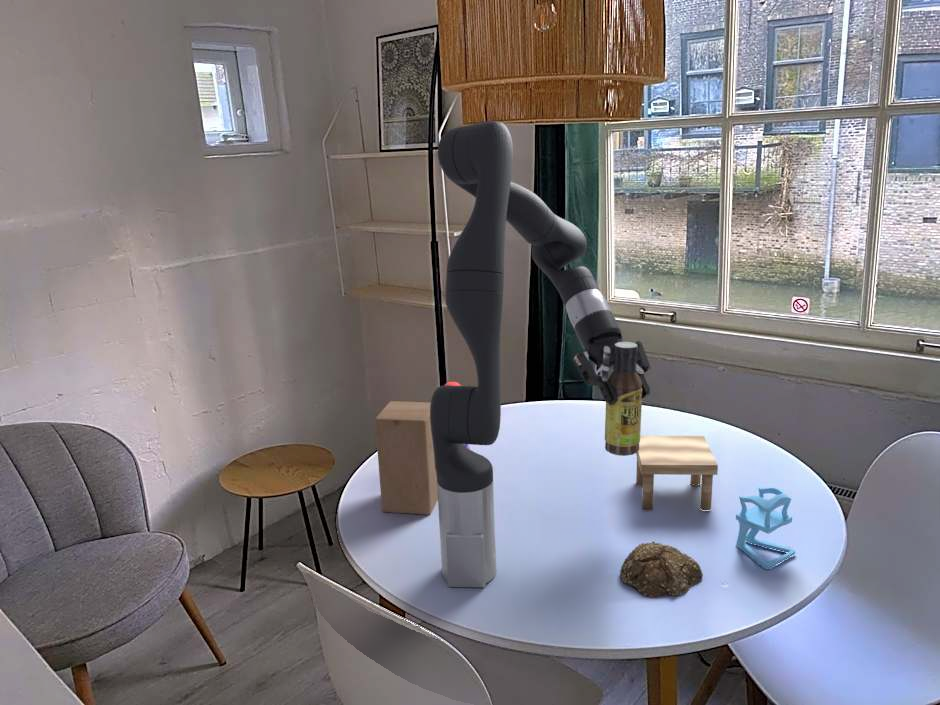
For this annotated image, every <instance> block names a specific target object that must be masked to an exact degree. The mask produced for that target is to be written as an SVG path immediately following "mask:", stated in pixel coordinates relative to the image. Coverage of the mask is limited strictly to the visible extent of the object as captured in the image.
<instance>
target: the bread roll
mask: <svg viewBox="0 0 940 705" xmlns="http://www.w3.org/2000/svg"><path fill="white" fill-rule="evenodd" d="M619 572H620V578H621V581H622V582H623V583H625V584H627V585H629V586H631V587H634V588H635V589H637V590H638V592H639V593H640V594H641V595H642V596H644V597H647V598H663V597H665V596H669V597H677V596H681V595H682V594H683V593H687V592H688V591H690V588H691V587H692V586H693V585H696V584H699V583H701V582H702V580H701V579H702V577H703V575H704V573H703V572H702V568H701V567H700V564H699V563H698V562H697V561H696V560H695V559H694V558H693V557H691V556H689V555H687V553H683V552H681V550H679V549H678V548H677V547H673V546H672V545H668V544H662V543H661V542H660V543H659V542H655V541H651V542H646V543H640V544H638V546H636V547H635V548H634V549H632V551H631V552H630V553H629V554H628V555H627V556H626V558H625V559H624V561H623V564H622V565H621V568H620V570H619Z"/></svg>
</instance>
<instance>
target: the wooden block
mask: <svg viewBox="0 0 940 705" xmlns="http://www.w3.org/2000/svg"><path fill="white" fill-rule="evenodd" d="M430 405H431V402H426V401H425V402H423V401H420V402H419V401H396V400H390V401H389V402H388V403H387V404H386V405H385V407H384V408H383V409H382V410H381V411H380V413H378V415H377V416H376V417H375V418H374V423H375V425H374V426H375V435H376V436H375V438H376V447H377V448H376V450H377V460H378V461H377V462H378V473H379V476H378V477H379V486H380V500H381V509H382V510H381V512H383V513H393V514H395V513H396V514H411V515H428V516H429V515H432V514H431V513H432V512H433V509H434V508H435V506H436V504H437V503H438V490H437V474H436V469H435V460H434V449H433V441H432V433H431V423H430Z"/></svg>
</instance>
